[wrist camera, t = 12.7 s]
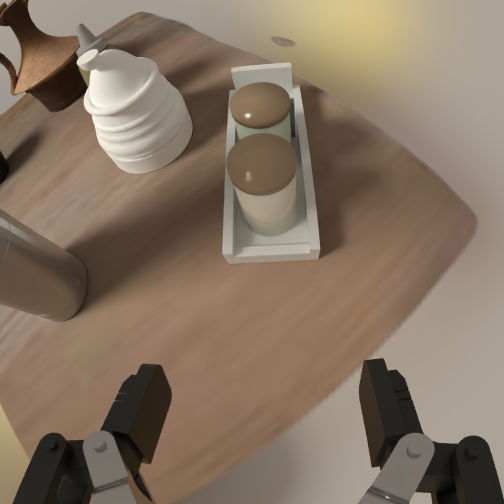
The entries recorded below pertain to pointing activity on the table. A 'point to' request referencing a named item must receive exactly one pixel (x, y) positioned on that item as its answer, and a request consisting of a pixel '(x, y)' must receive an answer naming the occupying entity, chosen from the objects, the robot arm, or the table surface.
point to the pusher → (292, 117)
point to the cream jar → (265, 182)
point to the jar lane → (306, 224)
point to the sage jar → (261, 110)
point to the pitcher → (42, 60)
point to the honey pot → (135, 110)
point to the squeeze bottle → (90, 46)
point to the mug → (3, 167)
